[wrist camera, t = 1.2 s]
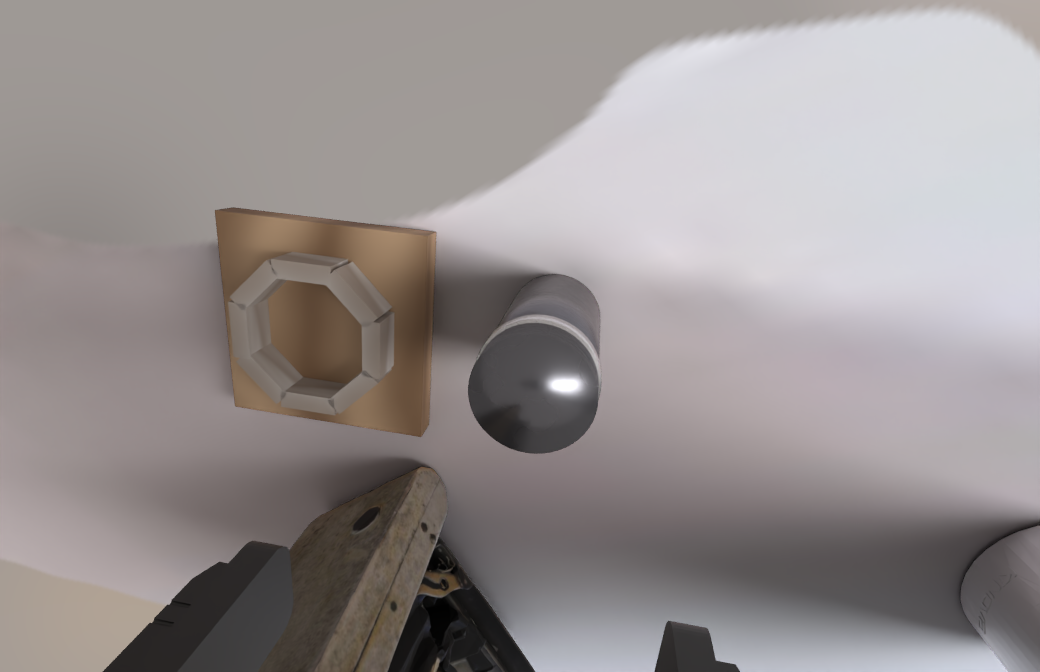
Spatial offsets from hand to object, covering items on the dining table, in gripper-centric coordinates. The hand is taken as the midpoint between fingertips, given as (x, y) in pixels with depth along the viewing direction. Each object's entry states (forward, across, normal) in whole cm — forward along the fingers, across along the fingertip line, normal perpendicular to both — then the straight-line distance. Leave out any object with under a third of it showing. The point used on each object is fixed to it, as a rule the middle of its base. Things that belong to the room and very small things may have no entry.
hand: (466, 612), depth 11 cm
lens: (+20, 0, 0) cm, 20 cm away
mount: (+20, +13, +2) cm, 24 cm away
